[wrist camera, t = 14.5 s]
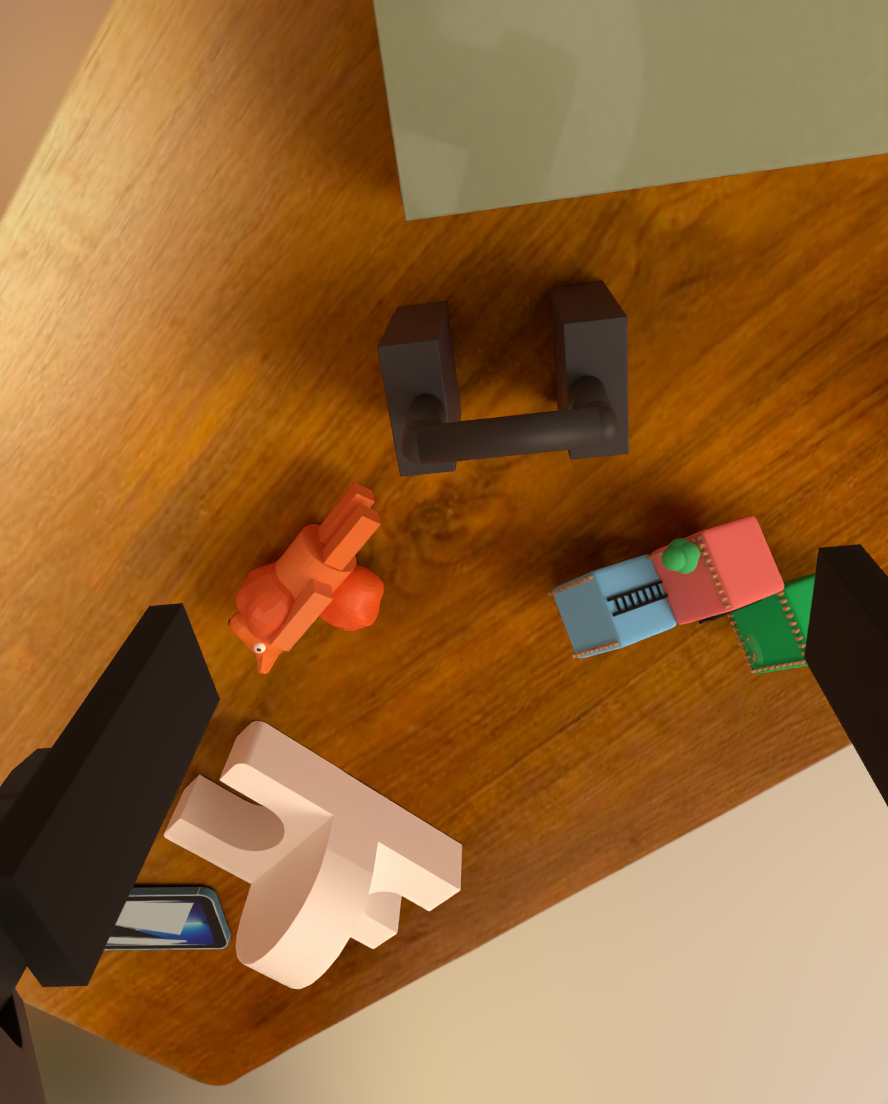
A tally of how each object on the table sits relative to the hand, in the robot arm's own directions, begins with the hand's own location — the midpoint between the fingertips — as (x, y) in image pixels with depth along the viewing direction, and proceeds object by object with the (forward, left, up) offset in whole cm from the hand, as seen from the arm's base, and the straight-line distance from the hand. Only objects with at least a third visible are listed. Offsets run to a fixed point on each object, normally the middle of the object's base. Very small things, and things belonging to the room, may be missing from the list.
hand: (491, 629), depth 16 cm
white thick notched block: (+33, -15, -23) cm, 43 cm away
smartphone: (+43, -33, -23) cm, 59 cm away
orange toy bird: (+12, -10, -23) cm, 28 cm away
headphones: (+1, +1, -23) cm, 23 cm away
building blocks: (+15, +10, -23) cm, 29 cm away
